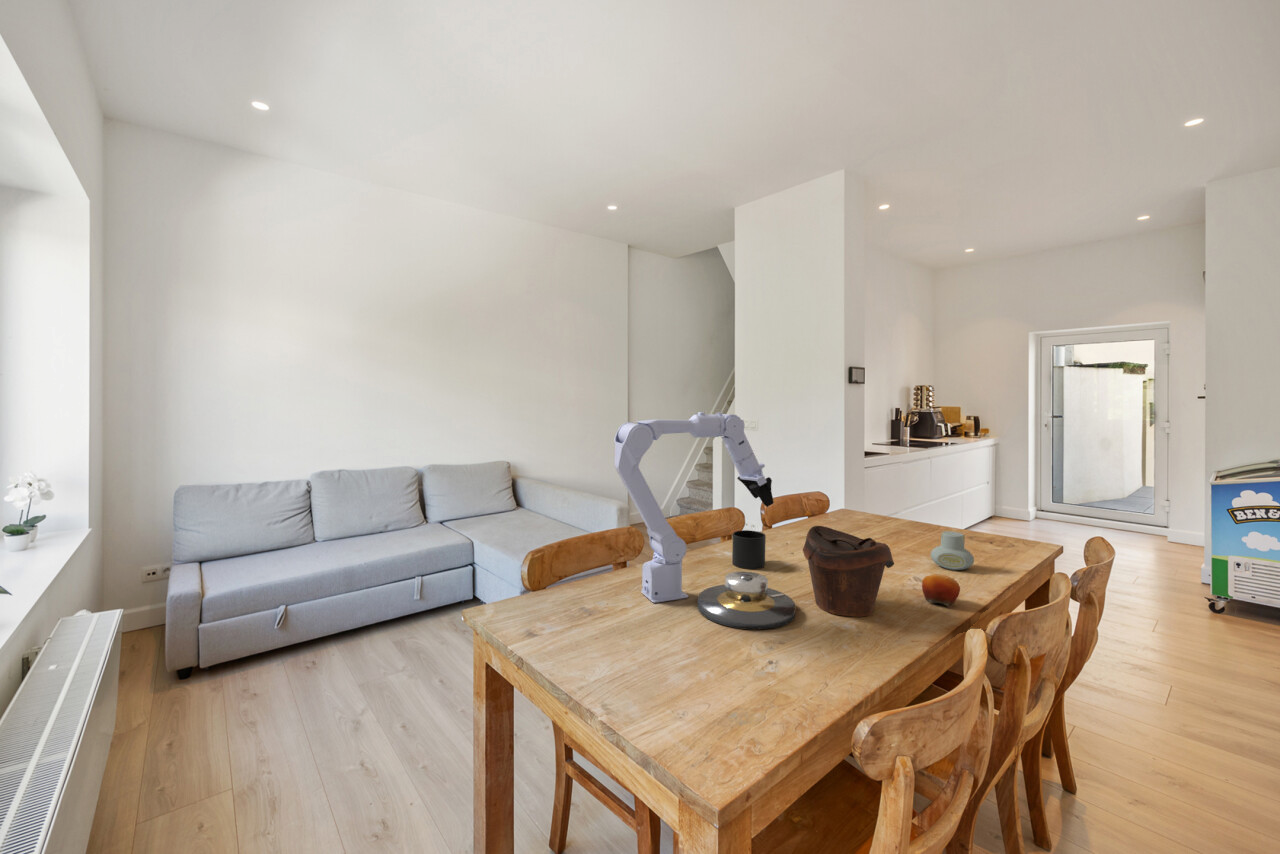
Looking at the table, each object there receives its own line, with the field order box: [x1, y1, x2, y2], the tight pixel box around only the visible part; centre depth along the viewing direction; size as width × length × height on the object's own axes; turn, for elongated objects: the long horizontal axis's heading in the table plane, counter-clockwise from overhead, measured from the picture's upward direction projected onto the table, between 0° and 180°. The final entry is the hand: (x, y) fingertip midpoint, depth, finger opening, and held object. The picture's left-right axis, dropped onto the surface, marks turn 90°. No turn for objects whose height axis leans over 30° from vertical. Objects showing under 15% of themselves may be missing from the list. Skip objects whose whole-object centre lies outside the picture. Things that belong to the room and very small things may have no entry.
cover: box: [724, 571, 769, 600], centre depth 129 cm, size 10×10×4 cm
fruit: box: [921, 573, 961, 609], centre depth 130 cm, size 8×8×8 cm
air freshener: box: [930, 530, 975, 571], centre depth 157 cm, size 11×8×10 cm
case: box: [802, 525, 895, 618], centre depth 126 cm, size 18×20×18 cm
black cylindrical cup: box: [731, 529, 767, 570], centre depth 159 cm, size 9×12×9 cm
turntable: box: [697, 584, 796, 630], centre depth 125 cm, size 22×22×2 cm
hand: (764, 500), depth 141 cm, fingers open, 7 cm apart
